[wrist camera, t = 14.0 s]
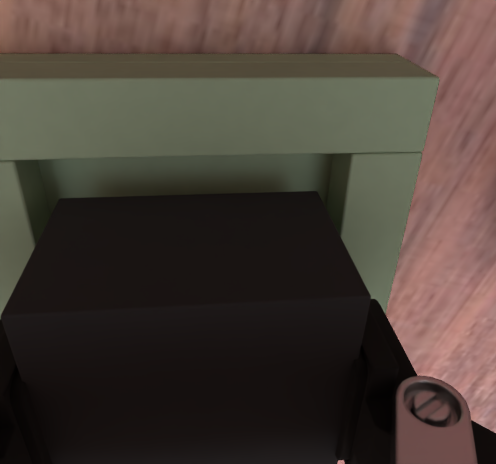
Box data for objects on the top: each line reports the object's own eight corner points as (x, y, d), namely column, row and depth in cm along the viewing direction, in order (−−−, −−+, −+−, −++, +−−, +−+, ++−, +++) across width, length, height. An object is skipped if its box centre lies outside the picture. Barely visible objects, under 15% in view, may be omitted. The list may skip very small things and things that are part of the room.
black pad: (59, 197, 11) (-2, 315, 7) (317, 190, 11) (372, 296, 8) (97, 379, 14) (67, 521, 10) (298, 365, 14) (331, 495, 11)
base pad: (-48, 52, 11) (-104, 79, 9) (398, 53, 12) (441, 76, 10) (46, 373, 17) (26, 435, 15) (343, 353, 18) (364, 408, 16)
